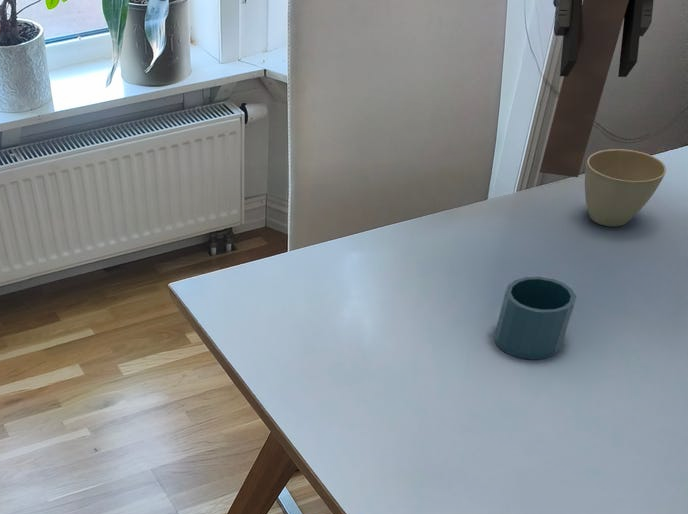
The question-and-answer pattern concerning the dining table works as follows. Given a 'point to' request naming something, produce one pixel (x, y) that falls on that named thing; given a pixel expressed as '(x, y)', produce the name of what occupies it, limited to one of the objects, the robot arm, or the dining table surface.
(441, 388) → the dining table surface
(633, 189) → the flower pot
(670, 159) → the dining table surface
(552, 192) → the dining table surface
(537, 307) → the holder
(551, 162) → the dark brown long bar
